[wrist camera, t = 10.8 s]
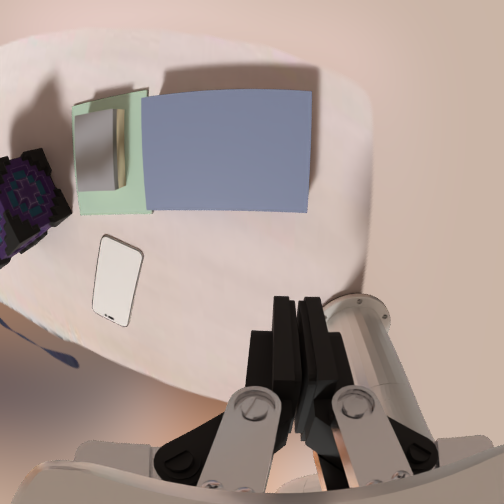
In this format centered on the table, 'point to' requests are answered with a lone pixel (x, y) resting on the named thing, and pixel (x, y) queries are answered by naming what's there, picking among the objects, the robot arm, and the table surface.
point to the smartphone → (116, 280)
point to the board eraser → (100, 150)
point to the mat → (133, 193)
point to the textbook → (227, 150)
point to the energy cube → (27, 203)
